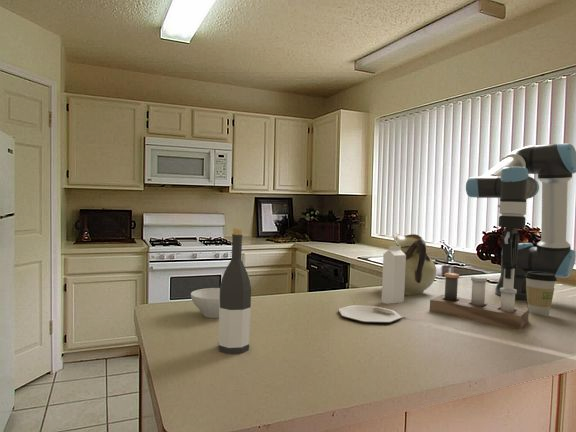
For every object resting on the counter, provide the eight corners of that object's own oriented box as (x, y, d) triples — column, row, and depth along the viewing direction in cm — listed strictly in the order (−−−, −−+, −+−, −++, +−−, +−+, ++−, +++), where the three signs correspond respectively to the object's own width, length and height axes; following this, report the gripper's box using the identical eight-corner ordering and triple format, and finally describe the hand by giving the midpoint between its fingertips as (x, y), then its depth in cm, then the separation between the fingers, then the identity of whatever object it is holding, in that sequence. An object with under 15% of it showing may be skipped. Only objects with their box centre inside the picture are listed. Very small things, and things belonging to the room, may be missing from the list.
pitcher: (399, 284, 192) (402, 232, 191) (447, 294, 175) (450, 237, 174) (371, 291, 177) (374, 234, 176) (421, 302, 160) (424, 239, 159)
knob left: (500, 313, 135) (502, 286, 134) (516, 316, 131) (518, 289, 131) (496, 316, 131) (498, 288, 131) (513, 319, 128) (514, 291, 127)
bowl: (249, 312, 135) (250, 291, 135) (222, 324, 120) (222, 301, 120) (209, 306, 142) (210, 286, 141) (179, 316, 127) (180, 294, 127)
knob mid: (472, 301, 140) (473, 276, 140) (487, 304, 137) (488, 278, 137) (468, 304, 137) (469, 277, 136) (483, 306, 134) (484, 279, 133)
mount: (442, 307, 151) (442, 294, 151) (527, 324, 132) (528, 309, 132) (429, 313, 142) (430, 299, 142) (519, 332, 123) (520, 316, 123)
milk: (403, 304, 154) (407, 246, 153) (392, 306, 151) (395, 247, 150) (392, 300, 159) (395, 245, 159) (380, 302, 156) (383, 245, 156)
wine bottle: (244, 355, 97) (248, 230, 96) (212, 352, 98) (216, 228, 97) (253, 344, 105) (257, 228, 104) (223, 341, 106) (227, 227, 105)
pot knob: (446, 297, 146) (447, 272, 146) (459, 299, 143) (461, 274, 143) (441, 299, 143) (442, 273, 142) (455, 301, 139) (456, 275, 139)
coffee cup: (559, 319, 140) (562, 276, 140) (528, 317, 142) (530, 274, 142) (547, 312, 150) (549, 272, 149) (518, 310, 152) (520, 270, 151)
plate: (409, 318, 136) (410, 313, 136) (379, 330, 122) (380, 325, 122) (360, 306, 150) (360, 302, 150) (327, 316, 135) (327, 311, 135)
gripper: (504, 215, 138) (500, 284, 138) (493, 214, 128) (489, 289, 128) (529, 216, 133) (525, 287, 133) (520, 215, 123) (516, 293, 123)
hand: (508, 288), depth 131 cm, fingers closed
